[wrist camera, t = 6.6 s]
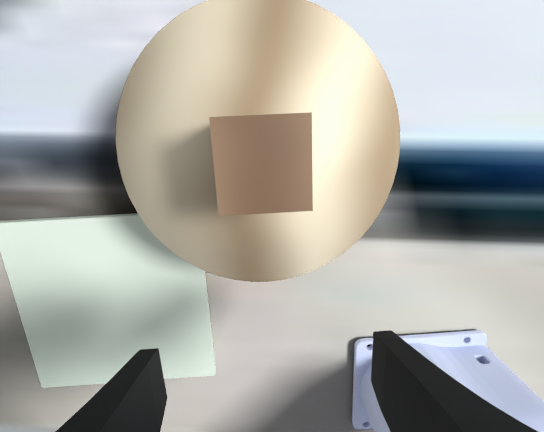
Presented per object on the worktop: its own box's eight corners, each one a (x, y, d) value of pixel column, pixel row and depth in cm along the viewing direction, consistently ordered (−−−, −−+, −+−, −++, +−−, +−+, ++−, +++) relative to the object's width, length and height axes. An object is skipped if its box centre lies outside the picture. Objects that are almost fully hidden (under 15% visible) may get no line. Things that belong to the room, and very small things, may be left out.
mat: (198, 209, 20) (196, 212, 19) (216, 370, 23) (215, 375, 23) (-2, 221, 19) (-9, 223, 19) (46, 382, 23) (41, 388, 22)
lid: (399, -4, 13) (482, -78, 8) (383, 264, 16) (436, 323, 12) (101, 5, 13) (7, -67, 8) (147, 279, 16) (101, 346, 11)
